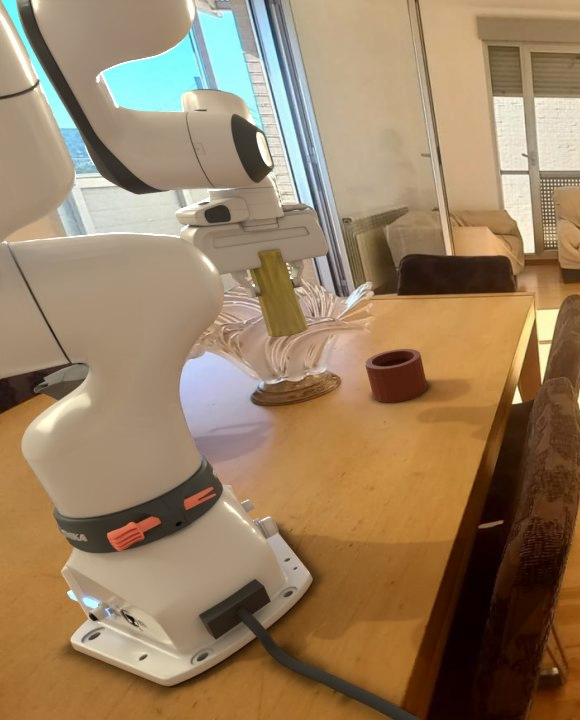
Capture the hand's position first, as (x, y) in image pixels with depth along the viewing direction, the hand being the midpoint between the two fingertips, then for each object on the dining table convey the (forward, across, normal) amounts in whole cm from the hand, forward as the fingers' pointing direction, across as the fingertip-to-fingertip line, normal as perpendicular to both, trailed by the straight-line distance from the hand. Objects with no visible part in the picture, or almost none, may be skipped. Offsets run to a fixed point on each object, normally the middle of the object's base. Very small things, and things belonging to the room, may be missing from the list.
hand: (276, 292), depth 81 cm
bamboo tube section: (+7, 0, 0) cm, 7 cm away
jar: (+25, -15, +5) cm, 29 cm away
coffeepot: (+25, +20, -21) cm, 38 cm away
